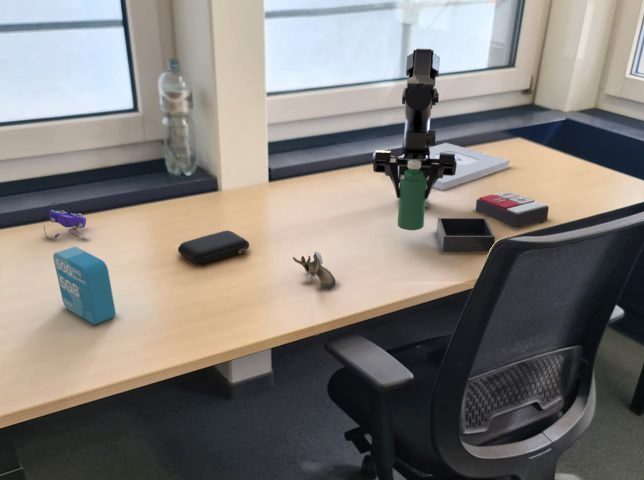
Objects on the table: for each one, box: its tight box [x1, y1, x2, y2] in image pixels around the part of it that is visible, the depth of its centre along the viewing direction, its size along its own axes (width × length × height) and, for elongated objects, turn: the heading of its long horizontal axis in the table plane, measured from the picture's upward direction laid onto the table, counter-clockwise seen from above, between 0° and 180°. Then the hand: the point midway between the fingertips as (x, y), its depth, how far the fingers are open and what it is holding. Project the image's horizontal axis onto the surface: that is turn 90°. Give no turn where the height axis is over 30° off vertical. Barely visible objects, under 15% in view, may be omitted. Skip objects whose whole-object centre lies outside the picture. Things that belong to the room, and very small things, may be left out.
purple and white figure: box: [43, 202, 87, 241], centre depth 179 cm, size 10×8×10 cm
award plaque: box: [398, 142, 510, 191], centre depth 222 cm, size 25×30×2 cm
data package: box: [52, 246, 117, 326], centre depth 143 cm, size 12×4×12 cm, turn 47°
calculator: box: [475, 190, 550, 229], centre depth 190 cm, size 11×4×15 cm
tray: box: [436, 217, 496, 253], centre depth 176 cm, size 12×12×4 cm
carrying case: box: [177, 230, 250, 266], centre depth 170 cm, size 11×3×15 cm
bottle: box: [397, 160, 427, 231], centre depth 169 cm, size 6×6×15 cm
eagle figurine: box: [291, 251, 337, 291], centre depth 157 cm, size 8×7×9 cm
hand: (412, 198), depth 168 cm, fingers closed on bottle, 6 cm apart
